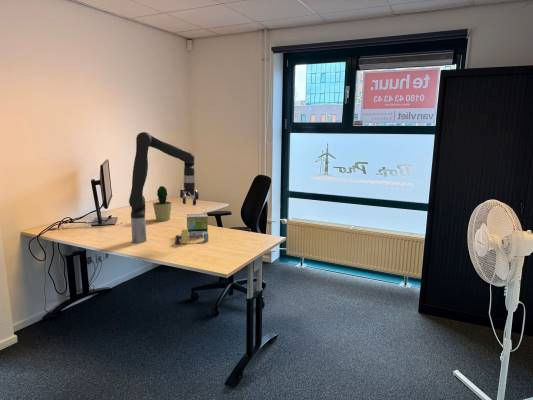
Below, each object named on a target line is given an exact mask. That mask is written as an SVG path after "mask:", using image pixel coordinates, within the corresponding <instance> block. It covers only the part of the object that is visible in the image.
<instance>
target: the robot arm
mask: <svg viewBox="0 0 533 400" xmlns="http://www.w3.org/2000/svg"><path fill="white" fill-rule="evenodd" d="M135 143H136V145H135V146H136V147H135V148H136V149H135V156H134V162H133V166H132V167H133V168H132V175H131V177H132V180H131V190H130V194H129V200H128V204H129V206H130V207H131V210H130V211H131V212H130V220H131V221H130V222H131V240H132V241H131V242H132V244H139V243H144V242H145V243H146V242H147V227H146V226H147V225H146V199H145V196H144V195H143V191H144V187H145V184H146V181H147V177H148V170H149V159H148V154H149V153H148V152H149V149H150V148H153V149H156V150H158V151H161V152H162V153H164V154H165V155H168V156H171V157H173V158H174V159H178V160H180V161H182V162H184V165H183V167H184V169H183V188H182V189H180V190H179V192H180V193H179V197H180V198H181V199H182V203H183V205H186V204H187V197H190V198H191V199H192V206H196V205H197V200H199V190H195V187H196V184H195V183H196V179H195V155H194V154H193V153H192V152H188V151H186V150H183V149H182V148H180V147H177V146H175V145H173V144H170V143H168V142H164V141H162V140H160V139H158V138H156V137H155V136H153V135H151V134H150V133H148V132H146V131H142V132H140V133H137V136H136V138H135Z"/></svg>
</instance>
